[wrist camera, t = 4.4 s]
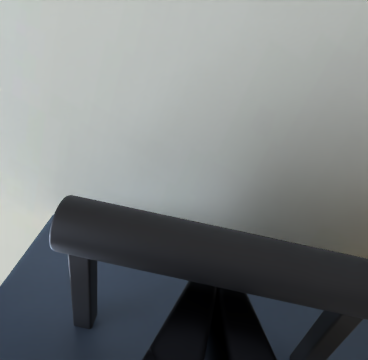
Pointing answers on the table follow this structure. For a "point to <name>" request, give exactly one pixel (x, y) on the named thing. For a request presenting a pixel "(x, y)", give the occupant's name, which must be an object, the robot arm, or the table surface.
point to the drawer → (171, 286)
